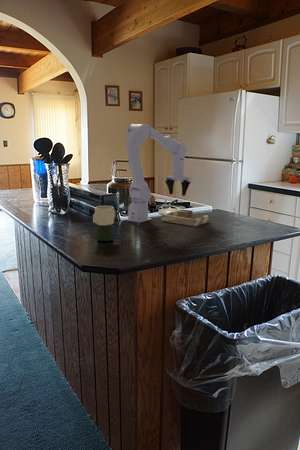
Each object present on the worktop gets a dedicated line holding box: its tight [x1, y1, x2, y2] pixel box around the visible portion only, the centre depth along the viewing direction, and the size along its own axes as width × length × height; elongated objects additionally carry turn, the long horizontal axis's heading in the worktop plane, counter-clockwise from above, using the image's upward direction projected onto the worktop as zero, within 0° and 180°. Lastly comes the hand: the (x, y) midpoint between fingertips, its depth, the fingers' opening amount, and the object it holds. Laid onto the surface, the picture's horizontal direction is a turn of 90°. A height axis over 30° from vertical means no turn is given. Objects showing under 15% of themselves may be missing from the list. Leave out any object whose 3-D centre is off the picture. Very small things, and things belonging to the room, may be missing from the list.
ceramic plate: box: [158, 207, 183, 216], centre depth 194 cm, size 14×14×1 cm
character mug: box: [92, 205, 116, 242], centre depth 143 cm, size 11×7×13 cm, turn 139°
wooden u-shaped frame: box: [161, 211, 209, 227], centre depth 176 cm, size 12×18×3 cm, turn 52°
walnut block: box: [178, 209, 193, 219], centre depth 176 cm, size 5×5×5 cm
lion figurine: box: [148, 193, 157, 206], centre depth 212 cm, size 15×5×9 cm, turn 119°
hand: (177, 194), depth 190 cm, fingers open, 7 cm apart
